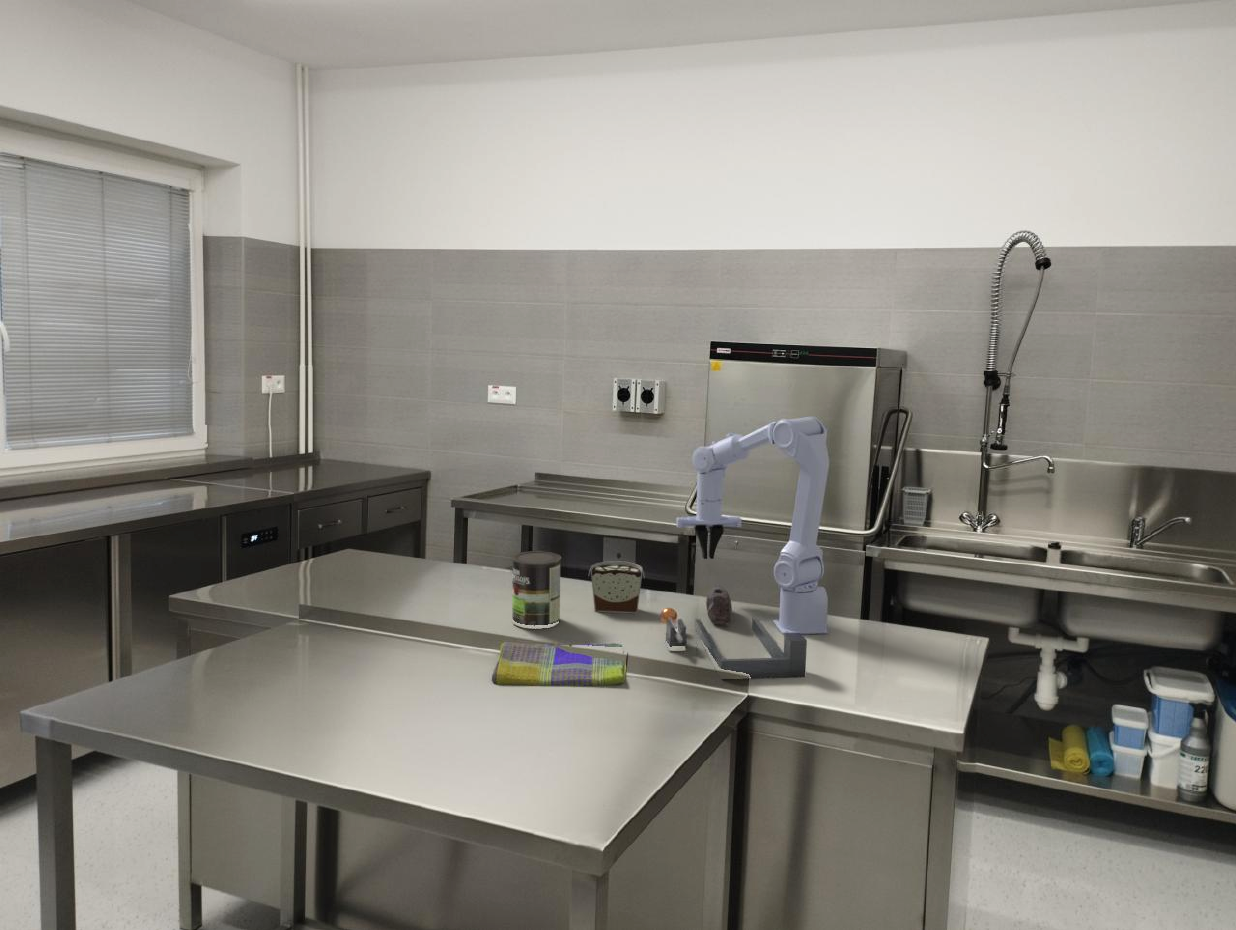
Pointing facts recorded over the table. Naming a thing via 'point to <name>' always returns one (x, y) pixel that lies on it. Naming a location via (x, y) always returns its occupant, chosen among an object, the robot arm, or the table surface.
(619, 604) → the food container
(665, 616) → the lever
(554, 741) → the table surface
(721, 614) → the perforated stone tool
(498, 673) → the dish towel
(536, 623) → the coffee can
